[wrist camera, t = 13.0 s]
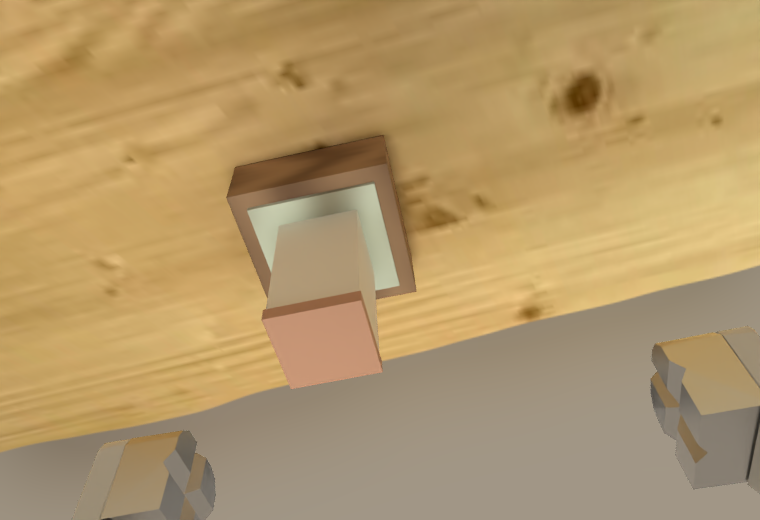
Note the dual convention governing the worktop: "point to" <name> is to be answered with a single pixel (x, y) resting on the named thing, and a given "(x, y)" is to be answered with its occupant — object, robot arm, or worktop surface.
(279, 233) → the two-tone lidded box
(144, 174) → the worktop surface
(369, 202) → the base
